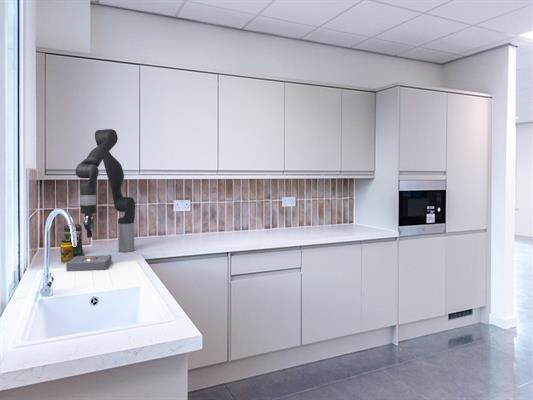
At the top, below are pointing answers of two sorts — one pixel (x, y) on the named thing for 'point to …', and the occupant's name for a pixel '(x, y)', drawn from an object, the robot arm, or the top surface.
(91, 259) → the button
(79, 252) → the green bottle
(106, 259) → the box
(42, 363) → the top surface
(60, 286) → the top surface
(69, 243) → the condiment
